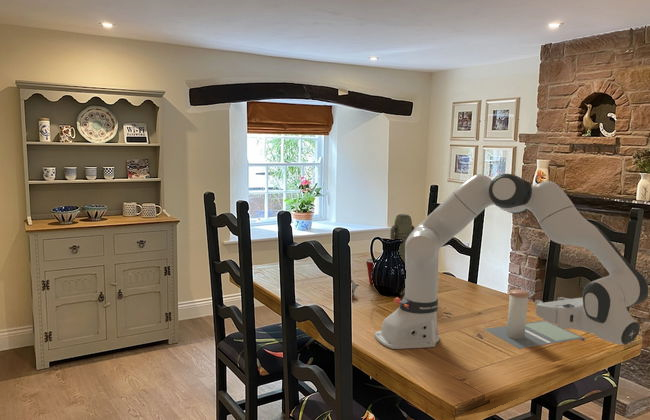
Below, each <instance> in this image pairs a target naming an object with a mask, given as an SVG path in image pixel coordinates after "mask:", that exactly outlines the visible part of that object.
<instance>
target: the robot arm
mask: <svg viewBox="0 0 650 420" xmlns="http://www.w3.org/2000/svg"><path fill="white" fill-rule="evenodd" d="M490 206H496V207H498V208H499V209H500V210H502V211H504V212H507V213H510V214H514V215H515V214H517V215H518V214H522V213H525V212H527V211H530V212H531V213H532V215H533V216H534V217H535V219H536V220H537V222H538V224H539V226H540V228H541V230H542V231H543V233H544V234H545V235H546V237H547V238H548V239H549V240H550V241H552V242H553V243H557V244H560V245H563V246H575V247H581V248H584V249H587V250H588V251H590V252H591V253H592V254H593V255H594V256H595V257H596V259H597V260H598V261H599V263H601V265H602V266H603V267H604V268H605V269H606V271H607V272H608V274H609V275H607V276H603V277H600V278H598V279H595V280H592V281H590V282H587V284H586V285H584V288H583V290H582V297H576V298H567V297H563V296H559V297H557V300H553V301H546V302H544V301H543V300H540V299H537V300H534V306H535V314H536V316H537V317H539V318H540V319H543V321H545V320H546V321H548V322H550V323H552V324H555V325H557V326H558V327H560V328H564V329H566V330H568V329H569V330H572V329H573V330H577V331H583V332H585V333H587V334H593V335H595V336H596V337H597V338H599V339H600V340H601V339H602V340H604V341H606V342H610V343H612V344H615V345H618V346H619V345H621V346H625V345H626V346H627V345H628V344H631V343H632V342H634V341H635V340H636V339H637V337H638V336H639V333H640V330H641V329H640V328H641V326H640V325H641V324H640V323H639V322H638V321H637V320H636V319H634V318H633V317H632V315H631V314H630V312H629V310H628V309H627V308H628V307H633V306H636V305H639V304H641V303H644V302H645V300H646V299H647V298H648V296H649V284H648V281H647V280H646V278H645V277H644V275H642V274H641V273H640V272H639V271H638V270H637V268H635V267H634V266H632V264H630V262H629V261H628V260H627V259H626V258H625V257H624V255H622V253H621V251H619V250H618V249H617V247H616V245H614V243H613V242H612V241H611V240H610V239H609V237H608V236H607V235H606V234H605V232H603V231H602V230H601V229H600V228H599V227H598V226H597V225H596V224H593V223H591V222H590V221H588V220H587V219H586V218H585V217H584V216H582V214H581V213H580V212H579V210H578V209H577V208H576V206H575V204H574V203H573V202H572V200H571V199H570V198H569V196H568V195H567V193H565V191H564V190H563V189H562V188H561V186H560V185H558V184H557V183H556V182H553V181H550V180H547V181H541V182H539V183H538V184H534V185H532V184H531V182H529V181H527V180H525V179H523V178H522V177H520V176H517V175H515V174H512V173H502V174H499V175H497V176H496V177H493V179H491V178H490V177H489V176H487V175H485V174H481V173H479V174H474V175H473V176H471V177H470V178H469V179H467V180H465V181H464V182H463V183H462V184H460V185H459V186H458V187H457V188H456V189H454V191H453V192H452V193H450V194H449V195H448V196H447V197H446V198H445V199H444V200H443V201H442V202H441V203H440V204H439V205H438V206H437V207H436V208H435V209H434V210H433V211H432V212H431V213H429V214H428V215H427V216H426V217H425V218H424V219H423V220H422V221H421V222H420V223H419V224H418V225H417V226H415V227H414V228H415V229H414V230H413V231H412V232H411V234H410V235H409V236H408V238H407V240H406V243H405V270H406V279H405V295H403V297H402V299H401V298H399V297H398V296H397V297H395V298H394V299H393V301H394V303H396V304H397V305H399V307H398V308H396V309H395V310H394V311H392V313H389V315H388V316H387V317H385V318H384V320H383V322H382V326H381V329H380V330H377V331H375V332H374V338H375V339H376V340H377V342H379V343H380V344H381V345H383V346H384V347H387V348H389V349H393V350H401V349H402V350H403V349H423V348H434V347H436V346H437V343H438V342H439V341H440V334H439V330H438V320H437V312H438V309H439V299H438V288H439V287H438V285H439V255H440V253H439V252H440V250H441V249H442V247H443V246H445V244H447V243H448V242H449V241H451V240H452V239H453V238H454V237H455V236H456V235H458V234H459V233H461V232H462V231H463V230H464V229H465V228H466V227H467V226H468V225H469V224H470V223H472V221H474V219H476V218H477V217H478V215H480V214H481V213H482V212H483V211H484V210H485V209H486V208H488V207H490Z"/></svg>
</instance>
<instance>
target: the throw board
mask: <svg viewBox="0 0 650 420" xmlns="http://www.w3.org/2000/svg"><path fill="white" fill-rule="evenodd" d="M483 330H484V331H486V332H488V333H490V334H492V335H493V336H495V337H496V338H497V337H498V338H499V339H500V340H503V341H504V342H507V343H508V344H510V345H512V346H513V347H515V348H517V349H520V350H521V349H526V348H531V347H537V346H538V347H539V346H543V345H550V344H551V345H552V344H557V343H562V342H570V341H574V340H575V341H576V340H581V341H582V342H584V341H585V337H583V336H581V335H579V334H576V333H574V332H572V331H570V330H568V329H565V328H560V327H558V326H557V324H555V323H551V322H549V321H547V320H538V321H531V322H526V328H525V338H524V339H512V338H509V337H508V336H507V325H504V326H494V327H488V328H483Z"/></svg>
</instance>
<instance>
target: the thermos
mask: <svg viewBox="0 0 650 420" xmlns="http://www.w3.org/2000/svg"><path fill="white" fill-rule="evenodd" d="M393 224H394V225H392V226H391V228H390V234H389V235H390V239H389V241H390V240H392V239H402V240H404V242H403V241H402V242H403V243H402V244H400V247H399V250H398V252H400V253H399V255H401V256H400V257H402V258H401V259H402V260H403V261H404V262H405V243H406V240H407V238H408V236H409V235H410V234H411V232H412V231H413V230H414V229H415V228H416V227H415V226H414V225H413V221H412V217H411V216H410V215H409V214H403V213H401V214H397V215H396V217H395V219H394V223H393ZM399 296H405V288H404V289H403V291H402V292H401V293H400V295H399Z"/></svg>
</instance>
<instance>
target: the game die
mask: <svg viewBox="0 0 650 420" xmlns="http://www.w3.org/2000/svg"><path fill="white" fill-rule="evenodd" d="M350 277H351V283H352V296H355V292H356V289H357V287H358V286H360V285H359V284H357V283H356V282H355V281H354V280H353V279H352V276H350Z"/></svg>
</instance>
